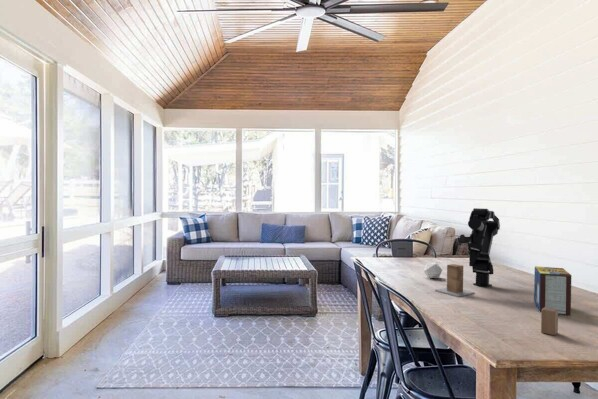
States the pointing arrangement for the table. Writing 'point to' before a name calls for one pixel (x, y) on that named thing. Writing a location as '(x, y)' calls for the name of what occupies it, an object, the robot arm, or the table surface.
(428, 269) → the die
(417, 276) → the table surface
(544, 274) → the protein box
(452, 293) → the coaster
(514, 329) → the table surface
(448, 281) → the walnut block
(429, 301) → the table surface
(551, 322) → the wooden block
